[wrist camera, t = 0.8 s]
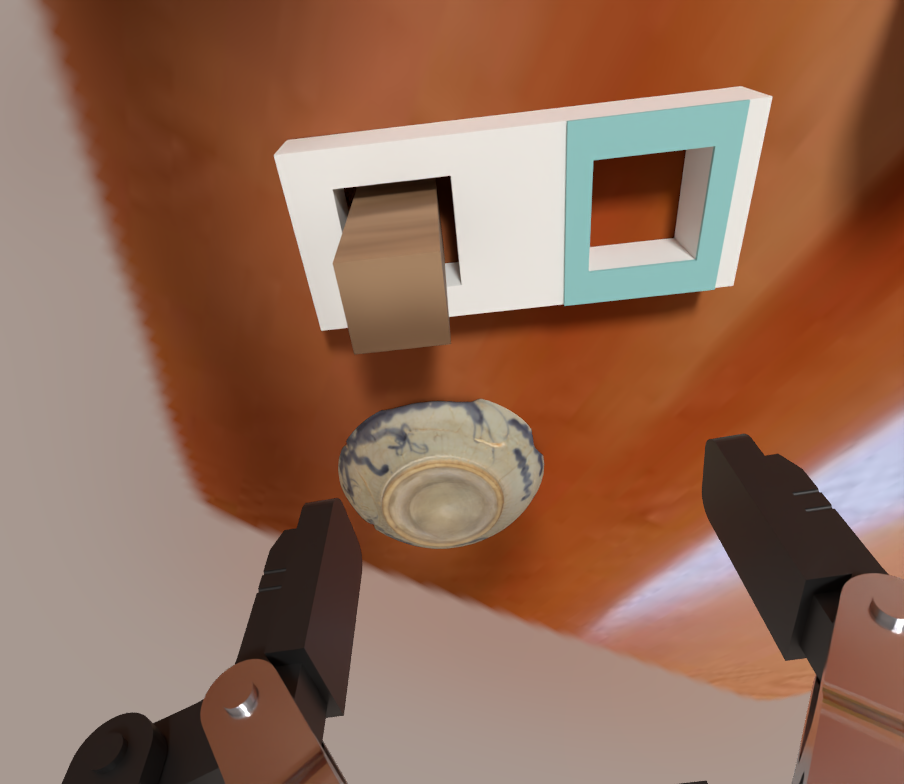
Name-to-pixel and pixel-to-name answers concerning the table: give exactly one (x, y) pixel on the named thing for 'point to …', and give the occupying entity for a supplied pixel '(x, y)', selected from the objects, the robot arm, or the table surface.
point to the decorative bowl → (441, 471)
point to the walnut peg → (394, 268)
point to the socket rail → (542, 198)
